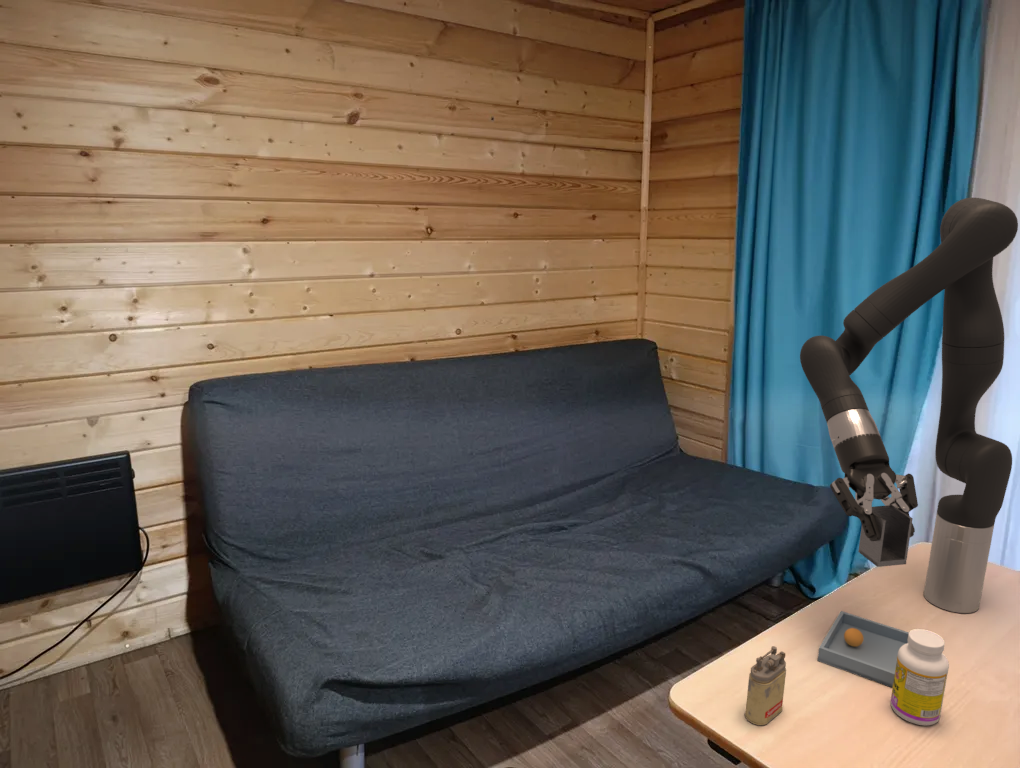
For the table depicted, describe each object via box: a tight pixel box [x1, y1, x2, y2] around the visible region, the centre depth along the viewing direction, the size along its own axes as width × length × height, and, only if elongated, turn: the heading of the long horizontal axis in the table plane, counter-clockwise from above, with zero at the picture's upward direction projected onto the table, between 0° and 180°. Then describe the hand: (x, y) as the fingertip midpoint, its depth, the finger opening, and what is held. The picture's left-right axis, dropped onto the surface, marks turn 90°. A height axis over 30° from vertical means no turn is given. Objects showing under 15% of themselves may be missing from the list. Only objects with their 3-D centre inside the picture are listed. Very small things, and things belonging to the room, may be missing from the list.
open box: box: [858, 505, 913, 568], centre depth 119 cm, size 5×5×8 cm
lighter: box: [744, 645, 787, 726], centre depth 110 cm, size 7×4×10 cm, turn 130°
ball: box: [844, 628, 863, 647], centre depth 126 cm, size 3×3×3 cm
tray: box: [817, 610, 910, 688], centre depth 125 cm, size 14×12×2 cm
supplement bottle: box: [890, 628, 950, 726], centre depth 110 cm, size 7×7×13 cm
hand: (892, 538), depth 117 cm, fingers closed on open box, 5 cm apart
